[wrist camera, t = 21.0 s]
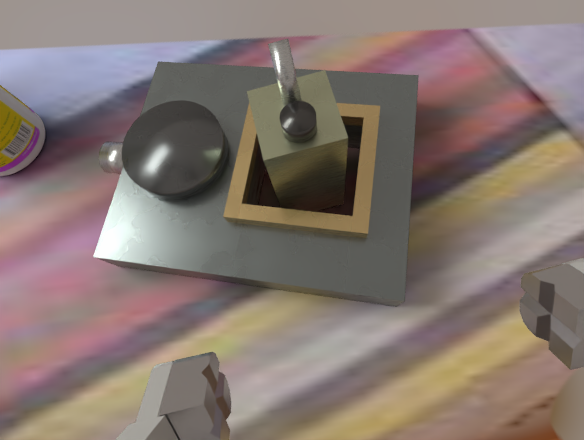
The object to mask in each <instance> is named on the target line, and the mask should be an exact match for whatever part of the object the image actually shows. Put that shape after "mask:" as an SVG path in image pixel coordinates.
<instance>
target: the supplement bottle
mask: <svg viewBox="0 0 584 440" xmlns="http://www.w3.org/2000/svg"><path fill="white" fill-rule="evenodd" d="M44 141H45V127H44V124H43V121H42V120H41V118H40V117H39V116H38V115H37V114H36V113H35V112H34V111H33V110H32V109H30V108H29V107H28V106H27V105H25V104H24V103H23V102H21V101H20V100H19V99H18V98H16V97H15V96H14V95H12V94H11V93H10V92H8V91H7V90H6V89H5V88H3V87H2V86H1V85H0V176H6V175H10V174H13V173H15V172H18V171H20V170H21V169H23V168H25V167H26V166H28V165H29V164H30V163H31V162H32V161H33V160H34V159H35V158H36V157H37V155H38V154H39V153H40V151H41V149H42V147H43V144H44Z"/></svg>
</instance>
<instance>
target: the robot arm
mask: <svg viewBox="0 0 584 440" xmlns="http://www.w3.org/2000/svg"><path fill="white" fill-rule="evenodd" d="M521 288H522V289H523V290H524V291H525V292H526V293H525V294H524V296H523V297H522V298H521V300H520V314H521V316H522V319H523V322H524V323H525V325H526V326H527V328H528V329H529V330H530V331H531V332H532V333H533V334H534V335H535V336H536V337H539V338H541V339H544V340H546V341H548V345H549V350H550V351H551V352H552V353H553V354H554V355H555V356H556V357H557V358H558V359H559V360H561V361H562V362H563V363H564V364H565V365H566V366H567V367H568V368H569V369H570V370H572V369H576V368H581V367H584V258H581V259H577V260H573V261H570V262H566V263H563V264H560V265H556V266H552V267H548V268H544V269H540V270H536V271H533V272H529V273H525V274H524V275H523V277H522V278H521ZM219 363H220V362H219V360H218V358H217V356H216V354H215V353H214V352H209V353H205V354H200V355H196V356H192V357H187V358H183V359H178V360H175V361H171V362H167V363H162V364H158V365H156V366H155V367H154V368H153V369H152V371H151V374H150V377H149V381H148V384H147V387H146V390H145V393H144V397H143V400H142V403H141V406H140V409H139V413H138V416H137V419H136V422H135V423H132V424H129V425H128V426H127V427H126V429H125V430H124V431H123V432H122V433H121V434H120V435H119V436H118V437H117V439H116V440H229V436H230V429H229V427H228V424H227V422H226V419H227V418H228V416H229V415H230V413H231V398H230V390H229V386H228V382H227V379H226V377H225V375H224V374H222V373H221V372H219Z"/></svg>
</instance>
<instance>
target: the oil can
mask: <svg viewBox="0 0 584 440" xmlns="http://www.w3.org/2000/svg"><path fill="white" fill-rule="evenodd" d="M268 45H269V49H270V53H271V57H272V61H273V66H274V70H275V74H276V78H277V82H278V83H276V84H272V85H268V86H264V87H261V88H257V89H253V90H250V91H247V94H248V99H249V103H250V107H251V111H252V115H253V119H254V123H255V128H256V132H257V136H258V140H259V144H260V148H261V153H262V157H263V161H264V163H265V166H266V169H267V171H268V174H269V177H270V179H271V182H272V185H273V188H274V190H275V193H276V196H277V198H278V201H279V204H280V206H281V208H285V209H294V210H303V211H312V212H315V211H318V210H322V209H326V208H330V207H334V206H337V205H341V204H344V190H345V176H346V162H347V148H348V136H347V133H346V130H345V127H344V124H343V121H342V118H341V115H340V112H339V109H338V106H337V103H336V100H335V98H334V95H333V92H332V89H331V86H330V83H329V80H328V77H327V74H326V71H325V70H324V71H320V72H316V73H312V74H309V75H305V76H301V77H298V78H297V76H296V72H295V67H294V63H293V58H292V54H291V50H290V45H289V41H288V39H285V40H281V41H277V42H274V43H270V44H268Z"/></svg>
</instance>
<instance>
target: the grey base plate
mask: <svg viewBox="0 0 584 440" xmlns="http://www.w3.org/2000/svg"><path fill="white" fill-rule="evenodd" d="M320 71H324V70H306V69H295V72H296V76H297V78H298V77H301V76H305V75H309V74H312V73H316V72H320ZM326 74H327V77H328V80H329V83H330V86H331V89H332V92H333V95H334V98H335V100H336V103H337V106H338V109H339V112H340V115H341V118H342V121H343V124H344V127H345V130H346V133H347V136H348V147H352V148H360V150H359V159H358V168H357V177H356V186H355V194H354V203H353V212H352V216H348V215H339V214H330V213H321V212H312V211H303V210H294V209H285V208H276V207H267V206H258V203H259V198H260V193H261V188H262V182H263V177H264V172H265V167H266V166H265V163H264V161H263V157H262V153H261V148H260V144H259V140H258V136H257V132H256V128H255V123H254V119H253V115H252V111H251V107H250V103H249V99H248V94H247V91H250V90H253V89H257V88H261V87H264V86H268V85H272V84H276V83H278V82H277V78H276V74H275V70H274V68H268V67H249V66H230V65H211V64H192V63H173V62H158V64H157V67H156V70H155V73H154V76H153V79H152V82H151V85H150V88H149V91H148V94H147V97H146V100H145V103H144V106H143V109H142V112H141V115H140V117H139V118H138V119H137V120H136V121H135V122H134V123H133V124H132V126H131V127H130V129H129V130H128V132H127V134H126V136H125V139H124V142H123V143H120V142H106V143H104V144H103V145H102V147H101V149H100V152H99V162H100V165H101V167H102V169H103V170H104V171H105V172H107V173H115V174H121V175H120V178H119V181H118V184H117V187H116V190H115V193H114V196H113V199H112V202H111V205H110V208H109V211H108V214H107V217H106V220H105V223H104V226H103V229H102V232H101V235H100V238H99V241H98V244H97V247H96V250H95V253H94V256H93V257H95V258H98V259H100V260H103V261H106V262H108V263H111V264H114V265H116V266H120V267H127V268H134V269H140V270H147V271H154V272H161V273H168V274H175V275H182V276H189V277H195V278H202V279H209V280H216V281H223V282H230V283H237V284H244V285H250V286H257V287H264V288H271V289H278V290H285V291H292V292H299V293H305V294H312V295H319V296H326V297H333V298H340V299H347V300H354V301H360V302H367V303H374V304H381V305H388V306H395V307H397V306H398V305H400V304H401V303H403V302H404V301H405V287H406V271H407V254H408V238H409V221H410V205H411V188H412V172H413V155H414V139H415V122H416V106H417V90H418V75H401V74H382V73H363V72H344V71H326Z"/></svg>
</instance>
